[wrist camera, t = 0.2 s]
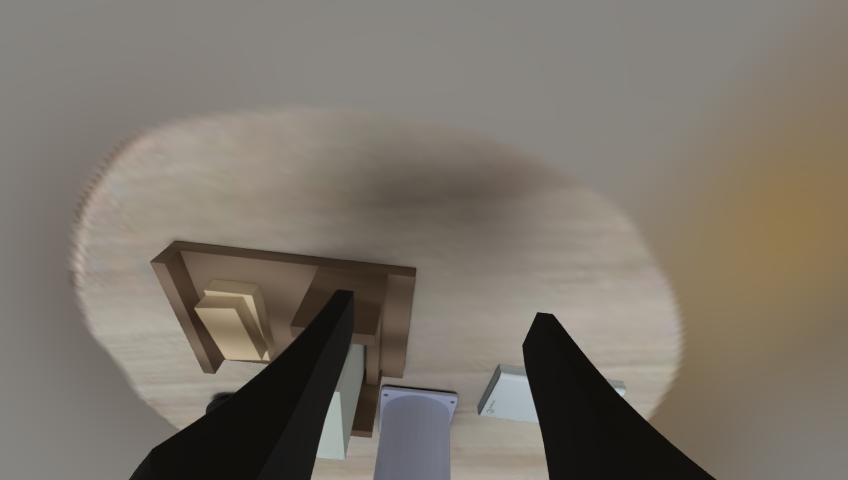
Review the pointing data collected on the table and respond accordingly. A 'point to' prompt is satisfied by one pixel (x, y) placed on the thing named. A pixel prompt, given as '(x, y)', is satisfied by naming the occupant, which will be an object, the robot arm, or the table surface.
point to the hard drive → (516, 395)
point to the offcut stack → (237, 320)
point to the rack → (297, 305)
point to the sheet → (343, 406)
